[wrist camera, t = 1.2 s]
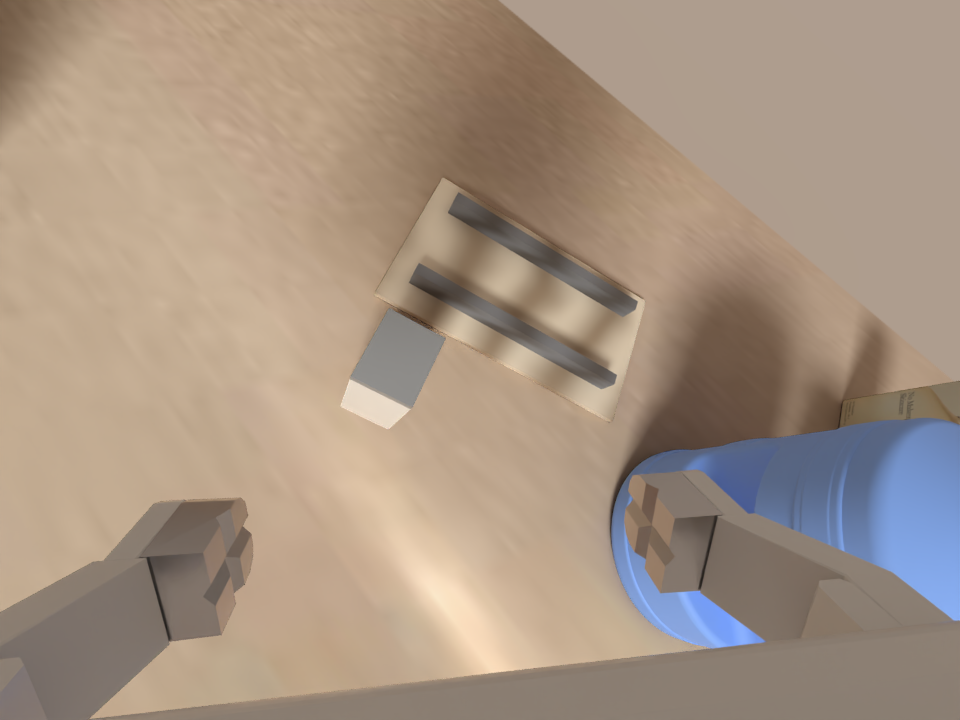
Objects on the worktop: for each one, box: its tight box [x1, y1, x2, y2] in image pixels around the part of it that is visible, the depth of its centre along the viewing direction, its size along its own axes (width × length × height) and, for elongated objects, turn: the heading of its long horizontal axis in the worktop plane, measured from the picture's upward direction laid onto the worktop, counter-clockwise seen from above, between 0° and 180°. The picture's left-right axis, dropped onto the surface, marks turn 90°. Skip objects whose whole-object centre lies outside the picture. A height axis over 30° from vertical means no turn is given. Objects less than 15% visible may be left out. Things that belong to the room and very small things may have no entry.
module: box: [340, 308, 446, 429], centre depth 32 cm, size 4×5×9 cm
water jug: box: [611, 418, 960, 649], centre depth 29 cm, size 16×16×28 cm
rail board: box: [374, 178, 646, 422], centre depth 42 cm, size 24×14×3 cm, turn 67°
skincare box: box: [839, 381, 960, 428], centre depth 48 cm, size 6×4×12 cm
